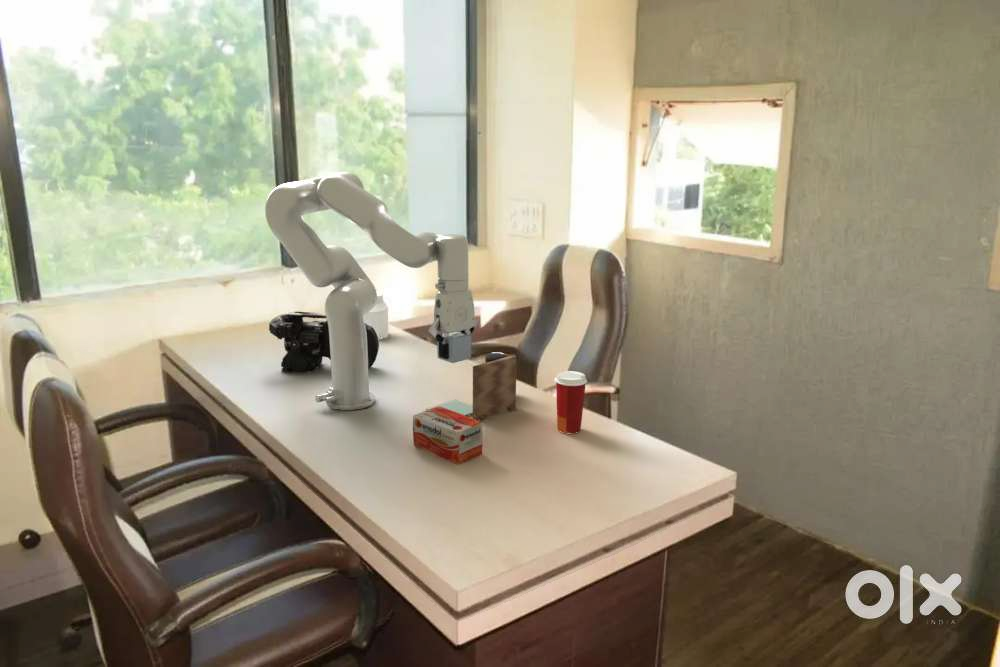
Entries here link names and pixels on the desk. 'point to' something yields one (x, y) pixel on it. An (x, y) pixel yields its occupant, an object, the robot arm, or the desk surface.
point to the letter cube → (457, 347)
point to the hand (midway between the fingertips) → (454, 354)
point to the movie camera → (310, 341)
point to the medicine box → (448, 434)
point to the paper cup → (570, 400)
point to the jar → (378, 317)
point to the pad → (456, 407)
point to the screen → (494, 387)
